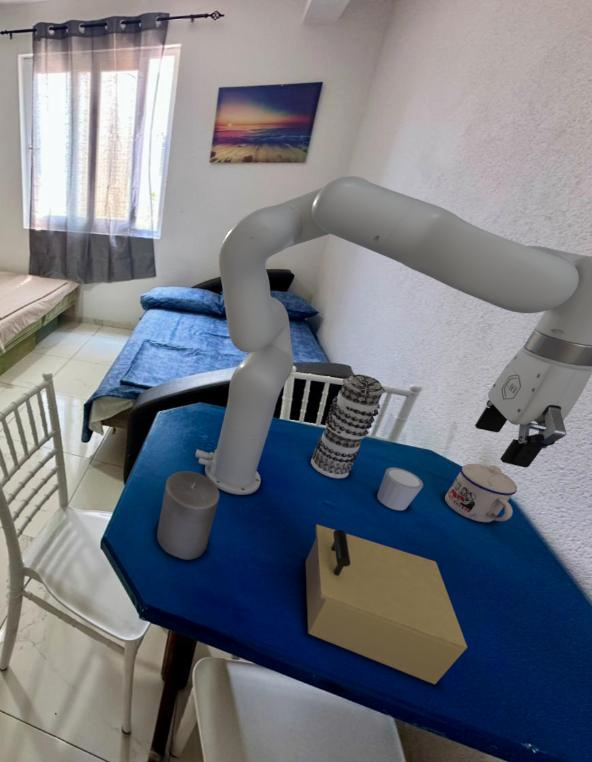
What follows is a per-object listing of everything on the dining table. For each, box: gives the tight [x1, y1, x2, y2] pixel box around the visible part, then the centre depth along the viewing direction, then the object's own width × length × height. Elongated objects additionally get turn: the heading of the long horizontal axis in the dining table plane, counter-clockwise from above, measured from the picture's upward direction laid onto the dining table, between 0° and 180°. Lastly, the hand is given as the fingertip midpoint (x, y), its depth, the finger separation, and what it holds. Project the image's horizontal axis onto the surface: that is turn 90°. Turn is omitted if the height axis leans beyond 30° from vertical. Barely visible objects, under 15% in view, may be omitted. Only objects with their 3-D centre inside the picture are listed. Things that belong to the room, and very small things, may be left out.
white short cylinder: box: [376, 467, 424, 511], centre depth 90 cm, size 7×7×7 cm
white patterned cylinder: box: [310, 374, 386, 479], centre depth 96 cm, size 9×9×25 cm
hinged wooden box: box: [305, 539, 465, 685], centre depth 66 cm, size 17×15×9 cm
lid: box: [314, 524, 468, 651], centre depth 63 cm, size 18×15×5 cm
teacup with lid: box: [444, 463, 518, 523], centre depth 87 cm, size 12×9×12 cm
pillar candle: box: [156, 470, 220, 560], centre depth 77 cm, size 10×10×15 cm
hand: (498, 445), depth 65 cm, fingers open, 9 cm apart
